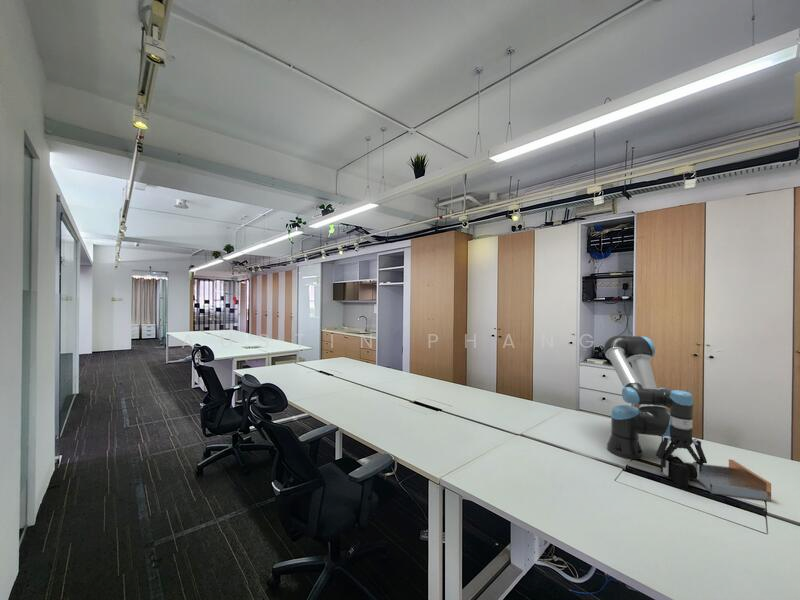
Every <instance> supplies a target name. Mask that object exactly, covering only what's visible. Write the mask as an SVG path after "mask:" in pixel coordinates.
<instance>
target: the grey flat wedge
mask: <svg viewBox="0 0 800 600" xmlns="http://www.w3.org/2000/svg"><path fill="white" fill-rule="evenodd" d="M683 463H689V464H692V465H693V462H686V461H683ZM694 480H695V481H696V482H697V483H699V484H700V485H701V486H702V487H704V488H705V489H706V490H707V491H708V492H710V493H711V494H712V495H720V496H729V497H736V498H745V499H750V498H754V499H753V500H758V499H761V500H760V501H767V502H768V501H769V502H772V483H771V482H770V481H768V480H766V479H765V478H763V477H762V476H760V475H758V474H756V473H755V472H753V471H752V470H750V469H749V468H747V467H745V466H743V465H742V464H740V463H739V462H737V461H736V460H734V459H730V458H729V459H728V466H724V465H715V464H708V463H706V464H705V463H703V465H701V471H699V480H698V479H694Z"/></svg>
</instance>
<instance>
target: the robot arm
mask: <svg viewBox="0 0 800 600" xmlns="http://www.w3.org/2000/svg"><path fill="white" fill-rule="evenodd" d="M655 350H656V348H655V345H654V343H653V341H652V339H650V338H649V337H647V336H642V335H636V336H635V335H634V336H633V335H632V336H631V335H614V336H611V337H610V338H608V339H607V340H606V341H605V342H604V345H603V352H604V355H605V357H606V359H608V360H609V361H610V363H611V366H612V367H613V369H614V371H615V373H616V374H617V376H618V377H617V378H618V379H619V381H620V383H621V385H622V386H623V388H622V390H621V396H622V400H623V401H624V402H625V403H627V404H632V405H627V404H624V405H622V404H621V405H620V404H619V405H616V406H614V407H612V408H611V415H610V417H611V420H610V421H611V427H610V428H611V429H610V432H611V434H610V436H609V439H608V442H607V443H606V444H607V445H606V449H607V451H608V452H609V453H611V454H614V455H616V456H619V457H620V458H621V457H622V458H625V459H631V460H639V459H640V460H641V459H642V458H643V456H644V453H643V449H642V446H641V444H640V441H639V436H640V435H647V436H655V437H656V436H657V437H660V438H661V442H660V443H659V446H658V448H657V450H656V453H655V456H656V457H657V458H658V459H660V467H661V466H662V467H663V473H664V474H663V473H662V474H663V475H664V476H665V477H667V476H668V463H669V461H667V459H668V458H669V456H670V455H673V453H674V451H676V450H677V449H686V450H687V451H688V453H689V454H690V455H691V457H692V458H693V461H692V463H693V466H694V467H695V468H696V470H697V478H696V479H698V480H699V471H701V465H703V464H708V460H707V459H706V455H705V453H704V450H703V448H702V441H701V440H699V439H697V438H694V439H693V437H694V436H693V422H694V419H693V418H694V416H693V415H694V411H693V409H694V401H693V394H692V393H690V392H688V391H685V390H680V389H679V390H678V389H675V390H674V389H673V390H671V389H668V388H666V387H658V388H657V383H656V380H655V377H654V373H653V369H652V366H651V361H652V360H653V357H654V355H655V354H656V351H655ZM633 404H634V405H639V407H636V406H633ZM667 408H668V409H669V410H670V411H669V412H668V411H667ZM668 443H669V444H668ZM692 444H693V445H694V447H695V451H696V452H697V454H696V452H695V451H694V448H693V447H692V446H691V445H692Z"/></svg>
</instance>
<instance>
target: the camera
mask: <svg viewBox="0 0 800 600" xmlns="http://www.w3.org/2000/svg"><path fill="white" fill-rule="evenodd" d="M667 461H669V463H668V476H666V477H667V478H668V479H670V480H671V481H672V482H673V483H675V484H676V485H677V486H678V487H681V488H686V489H688V488H689V480H695V479H696V478H697V470H696V468H695V467H694V466H693V465H692V464H689V463H690V462H689V463H683V462H684V461H683V460H682V459H681V458H680V457H679V456H674V455H673V454H671V455H670V456H669V458H668V459H667ZM660 473H662V474H663V475H665V474H664V473H663V467H662V466H661V465H660Z"/></svg>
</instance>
